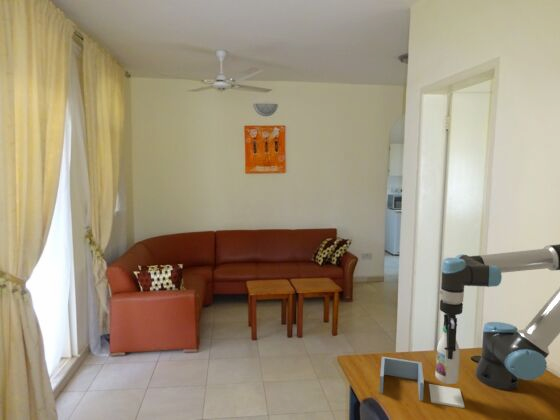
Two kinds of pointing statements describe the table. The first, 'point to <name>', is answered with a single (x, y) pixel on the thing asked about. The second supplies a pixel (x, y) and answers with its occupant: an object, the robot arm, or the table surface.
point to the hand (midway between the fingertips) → (447, 360)
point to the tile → (446, 395)
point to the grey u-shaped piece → (402, 372)
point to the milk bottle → (442, 371)
